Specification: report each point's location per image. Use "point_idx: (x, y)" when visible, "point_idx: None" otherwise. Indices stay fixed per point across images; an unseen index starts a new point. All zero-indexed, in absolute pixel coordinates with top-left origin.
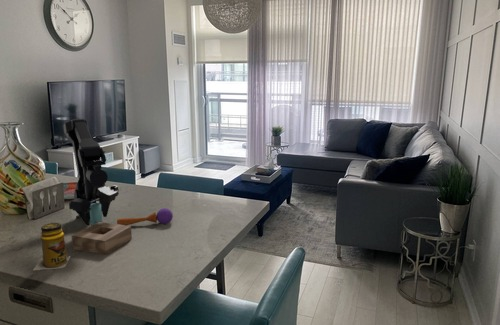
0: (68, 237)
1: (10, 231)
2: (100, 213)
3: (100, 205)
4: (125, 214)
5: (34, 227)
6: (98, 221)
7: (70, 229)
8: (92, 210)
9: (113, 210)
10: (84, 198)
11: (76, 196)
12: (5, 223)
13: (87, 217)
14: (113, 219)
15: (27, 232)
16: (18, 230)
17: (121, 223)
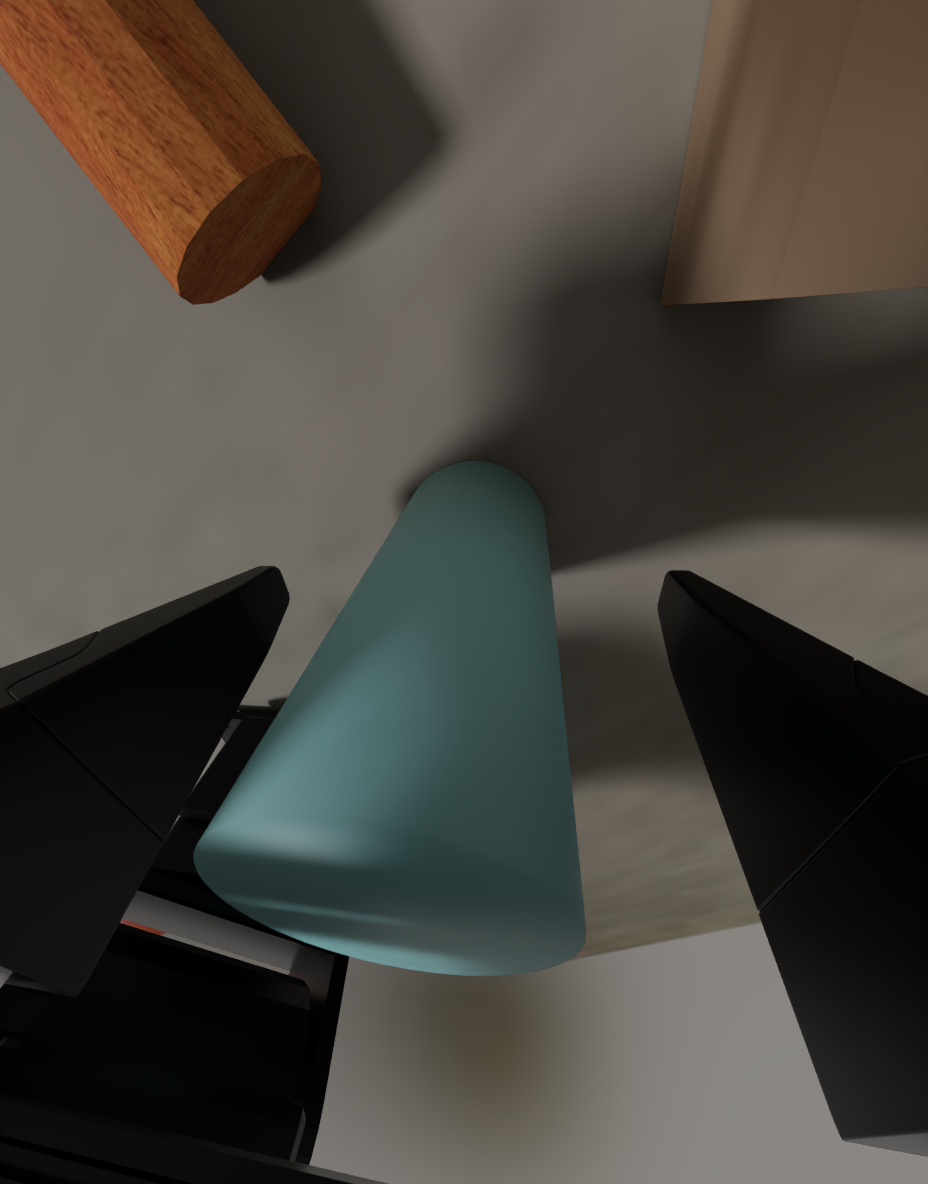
0: (820, 631)
1: (697, 922)
2: (418, 585)
3: (295, 783)
4: (9, 514)
5: (614, 879)
6: (505, 519)
7: (594, 722)
8: (567, 771)
9: None
10: (260, 1011)
11: (320, 1092)
12: (594, 953)
13: (843, 661)
14: (189, 536)
15: (704, 876)
16: (676, 907)
17: (221, 42)
